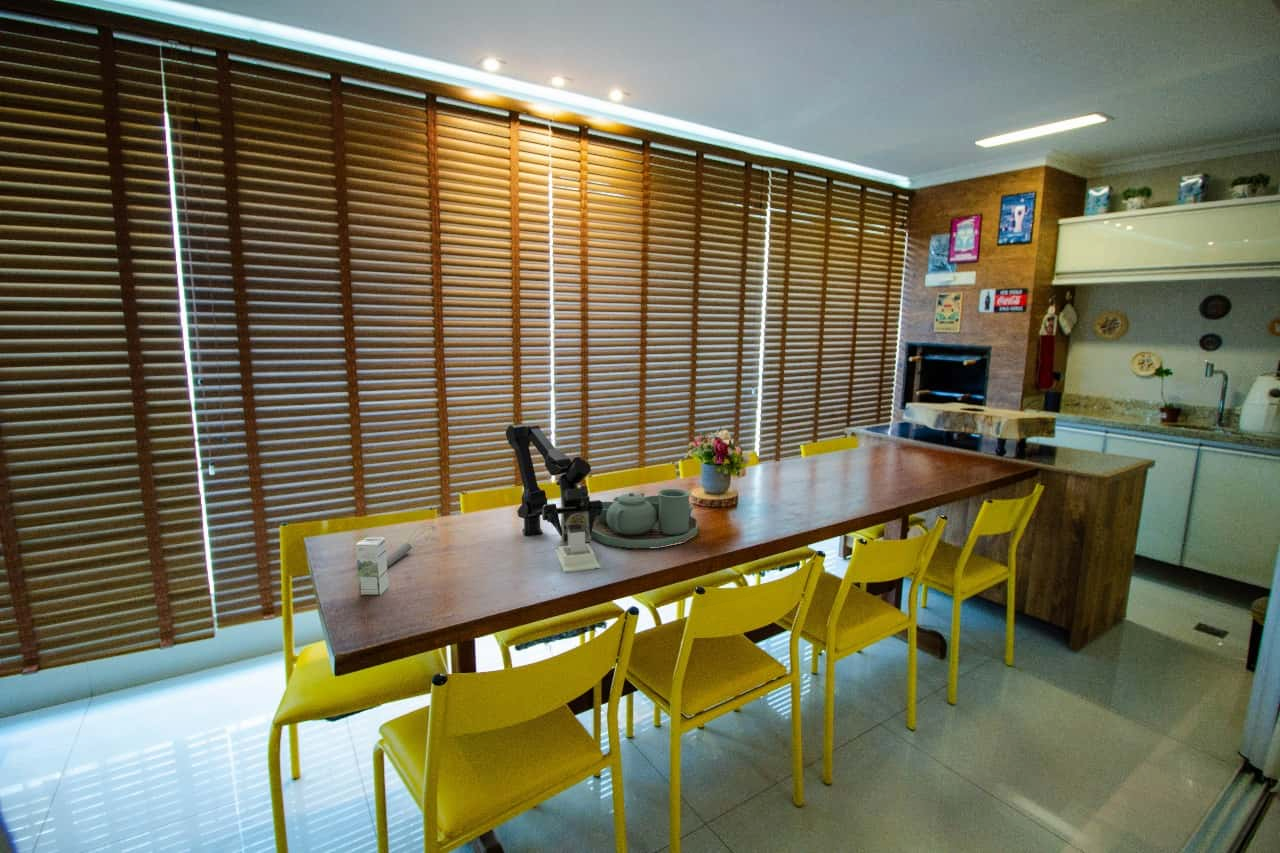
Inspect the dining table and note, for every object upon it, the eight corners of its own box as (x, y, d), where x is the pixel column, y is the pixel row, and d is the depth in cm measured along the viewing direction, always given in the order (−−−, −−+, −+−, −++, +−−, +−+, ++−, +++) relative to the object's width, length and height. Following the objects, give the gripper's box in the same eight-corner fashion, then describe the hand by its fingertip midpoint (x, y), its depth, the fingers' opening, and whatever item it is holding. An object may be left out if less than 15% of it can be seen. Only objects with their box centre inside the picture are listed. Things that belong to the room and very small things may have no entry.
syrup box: (389, 586, 157) (385, 536, 155) (380, 595, 151) (376, 543, 149) (368, 587, 157) (364, 536, 155) (358, 596, 151) (354, 544, 149)
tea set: (696, 516, 223) (696, 475, 220) (698, 552, 183) (699, 503, 181) (596, 514, 226) (595, 473, 224) (577, 549, 186) (576, 500, 184)
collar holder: (554, 551, 183) (554, 542, 183) (587, 548, 187) (587, 539, 186) (564, 572, 166) (564, 562, 166) (600, 568, 170) (600, 558, 169)
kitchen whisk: (367, 573, 167) (366, 553, 166) (425, 536, 200) (424, 519, 199) (386, 574, 166) (385, 554, 165) (442, 537, 199) (441, 520, 198)
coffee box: (563, 545, 189) (562, 498, 187) (561, 539, 195) (560, 493, 193) (590, 543, 192) (589, 496, 189) (587, 537, 198) (586, 492, 196)
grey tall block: (568, 556, 178) (567, 525, 176) (582, 554, 179) (581, 524, 178) (571, 561, 174) (570, 529, 172) (585, 559, 175) (584, 528, 174)
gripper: (542, 479, 175) (548, 524, 166) (601, 475, 180) (610, 519, 171) (539, 497, 183) (545, 541, 174) (596, 493, 189) (604, 535, 180)
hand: (576, 534), depth 175 cm, fingers open, 9 cm apart
